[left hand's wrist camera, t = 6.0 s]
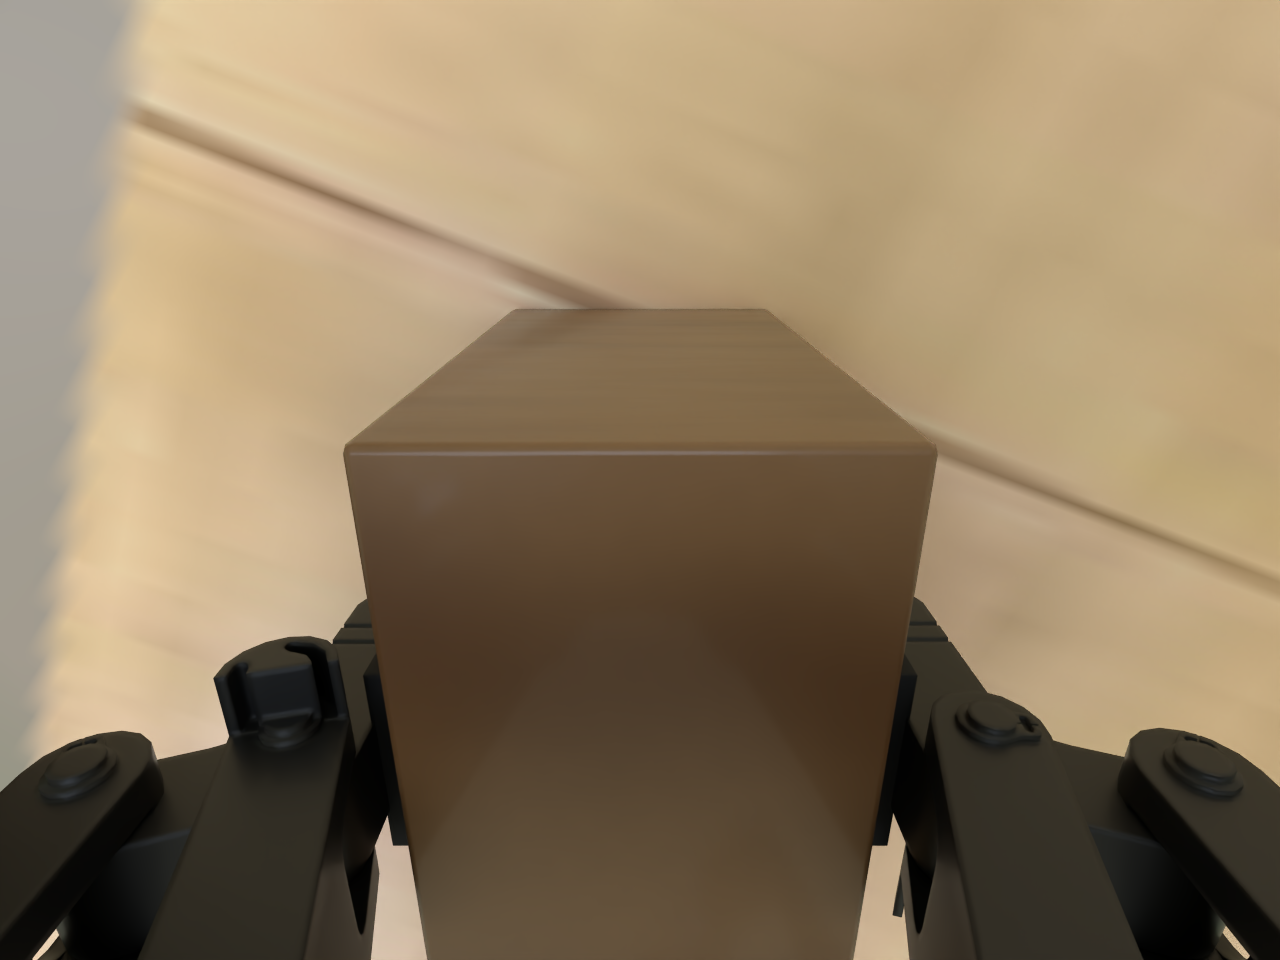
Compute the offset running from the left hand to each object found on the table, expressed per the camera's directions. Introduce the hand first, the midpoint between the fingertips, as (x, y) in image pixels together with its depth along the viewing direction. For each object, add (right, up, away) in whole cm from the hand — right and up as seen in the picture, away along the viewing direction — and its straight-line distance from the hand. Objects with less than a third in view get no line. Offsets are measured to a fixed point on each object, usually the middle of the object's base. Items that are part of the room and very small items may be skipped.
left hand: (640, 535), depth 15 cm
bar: (0, -25, +10) cm, 27 cm away
